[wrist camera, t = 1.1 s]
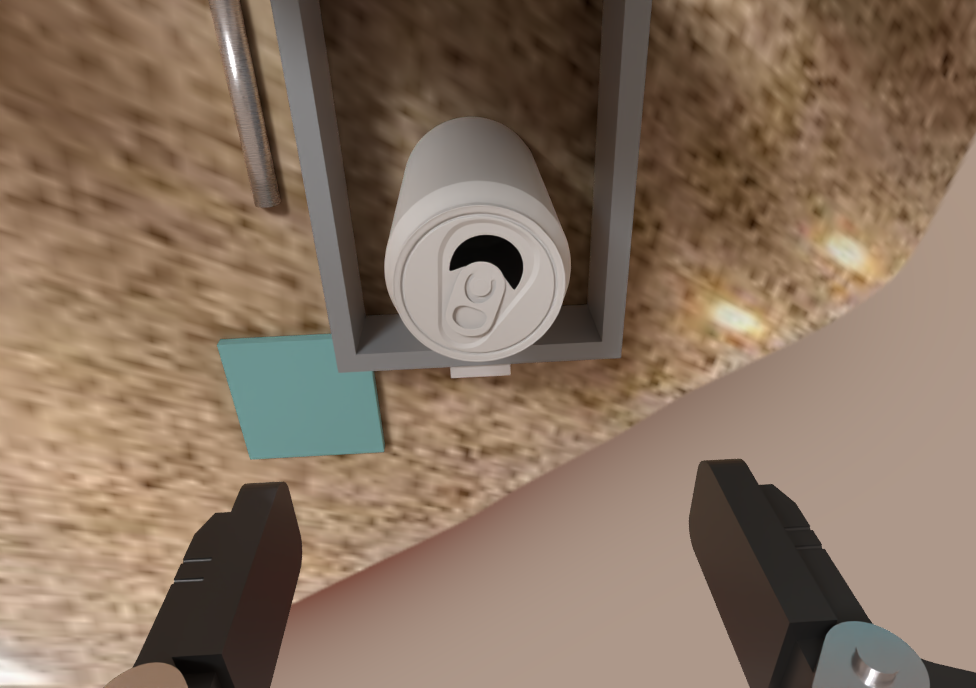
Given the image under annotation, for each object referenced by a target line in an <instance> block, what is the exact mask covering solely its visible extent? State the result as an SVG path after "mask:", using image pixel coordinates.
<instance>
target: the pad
mask: <svg viewBox="0 0 976 688" xmlns="http://www.w3.org/2000/svg"><path fill="white" fill-rule="evenodd" d="M217 347H218V350H219V354H220V357H221V361H222V364H223V367H224V371H225V374H226V378H227V381H228V385H229V388H230V391H231V395H232V398H233V402H234V405H235V409H236V412H237V415H238V419H239V422H240V426H241V429H242V433H243V436H244V439H245V443H246V446H247V450H248V453H249V457H250V459H268V458H286V457H304V456H322V455H340V454H357V453H375V452H384V449H385V442H384V436H383V429H382V422H381V415H380V409H379V402H378V395H377V389H376V382H375V375H374V371H365V372H347V373H338V368H337V363H336V357H335V352H334V346H333V341H332V335H331V334H316V335H296V336H277V337H257V338H238V339H220V341H219V343H218V344H217Z"/></svg>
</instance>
